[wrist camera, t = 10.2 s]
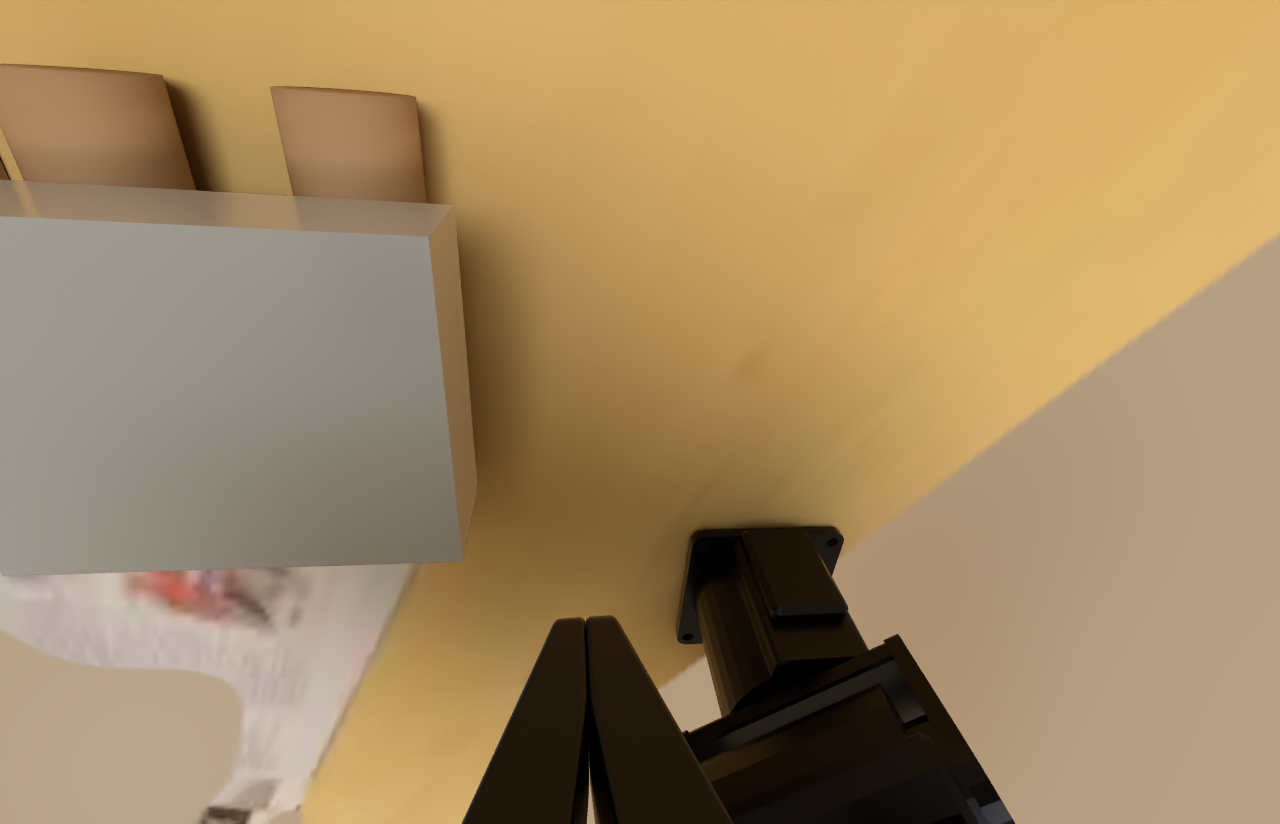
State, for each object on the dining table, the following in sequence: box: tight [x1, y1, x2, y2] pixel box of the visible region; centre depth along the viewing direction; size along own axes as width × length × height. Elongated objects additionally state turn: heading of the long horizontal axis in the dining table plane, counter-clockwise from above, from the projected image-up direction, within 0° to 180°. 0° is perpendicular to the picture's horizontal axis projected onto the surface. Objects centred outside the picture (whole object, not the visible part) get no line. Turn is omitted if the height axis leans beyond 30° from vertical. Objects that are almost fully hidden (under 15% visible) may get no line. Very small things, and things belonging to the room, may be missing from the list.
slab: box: [0, 180, 478, 576], centre depth 13 cm, size 8×10×3 cm
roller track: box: [0, 64, 427, 203], centre depth 15 cm, size 12×17×3 cm
